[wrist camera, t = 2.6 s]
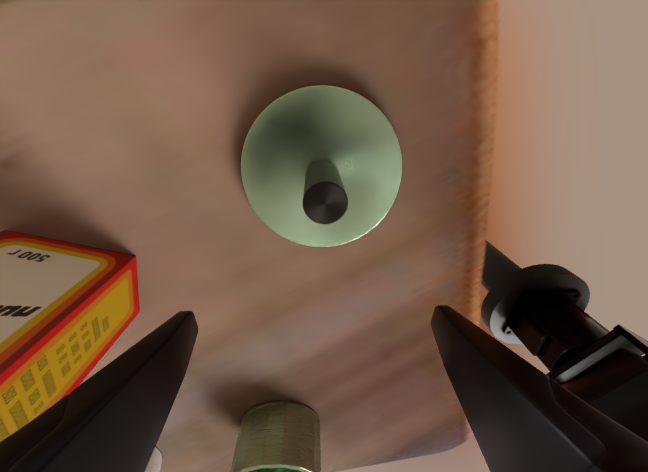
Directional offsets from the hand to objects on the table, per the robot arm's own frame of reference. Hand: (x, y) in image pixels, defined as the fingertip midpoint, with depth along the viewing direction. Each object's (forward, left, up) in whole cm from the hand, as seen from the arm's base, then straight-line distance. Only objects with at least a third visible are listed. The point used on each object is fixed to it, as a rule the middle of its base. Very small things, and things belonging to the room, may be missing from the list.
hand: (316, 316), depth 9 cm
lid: (-1, -2, -11) cm, 11 cm away
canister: (+4, +32, -12) cm, 34 cm away
